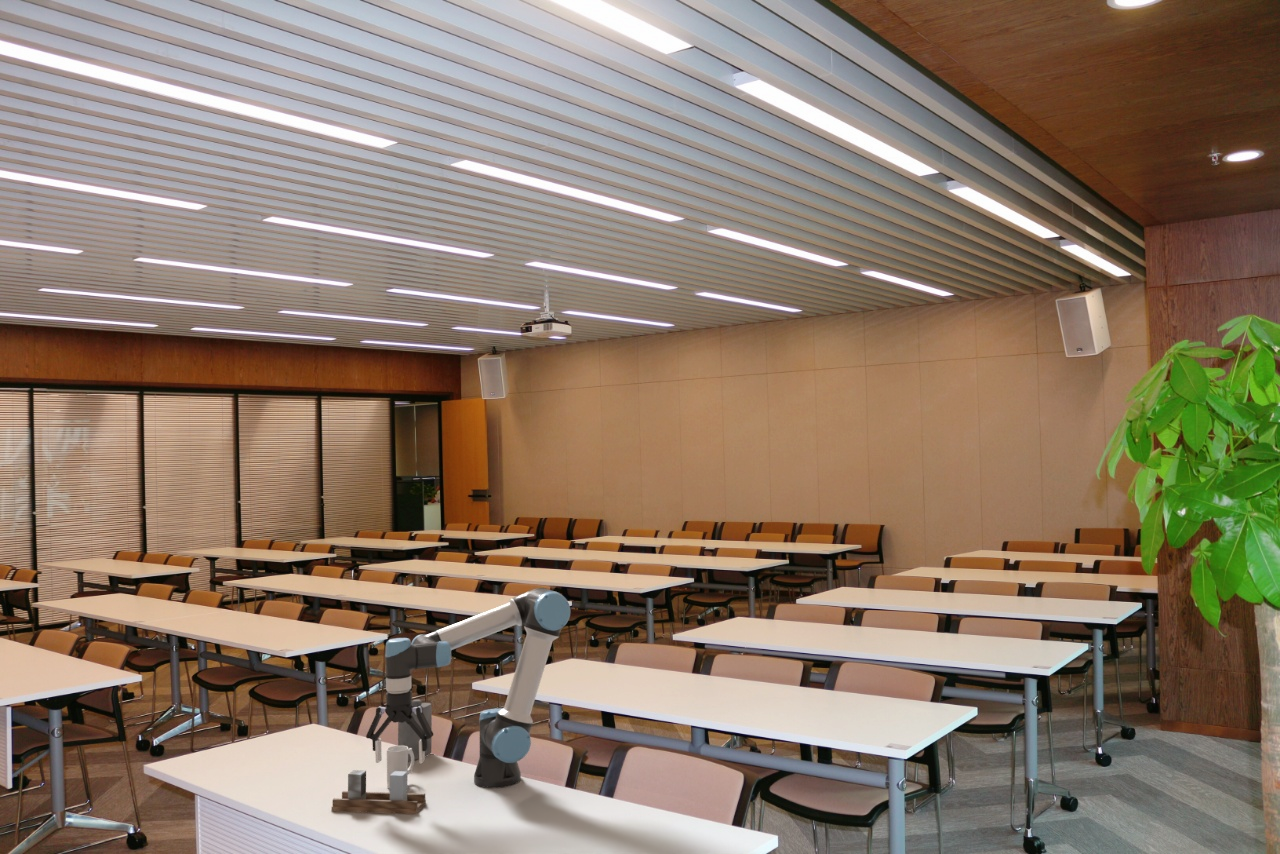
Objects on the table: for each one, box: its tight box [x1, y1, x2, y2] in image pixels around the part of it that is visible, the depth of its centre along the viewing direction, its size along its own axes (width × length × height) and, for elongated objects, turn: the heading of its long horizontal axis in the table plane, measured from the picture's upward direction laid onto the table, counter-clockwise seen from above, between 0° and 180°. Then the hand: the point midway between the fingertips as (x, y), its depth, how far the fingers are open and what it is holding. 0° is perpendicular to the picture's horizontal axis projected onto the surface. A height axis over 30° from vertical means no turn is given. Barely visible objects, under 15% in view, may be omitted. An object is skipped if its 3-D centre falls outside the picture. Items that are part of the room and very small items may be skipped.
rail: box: [331, 769, 427, 815], centre depth 288 cm, size 26×9×10 cm, turn 83°
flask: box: [397, 699, 433, 763], centre depth 340 cm, size 15×6×20 cm, turn 152°
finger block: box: [389, 771, 408, 801], centre depth 287 cm, size 4×4×9 cm
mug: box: [386, 745, 415, 789], centre depth 309 cm, size 10×7×12 cm, turn 141°
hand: (400, 761), depth 288 cm, fingers open, 13 cm apart
